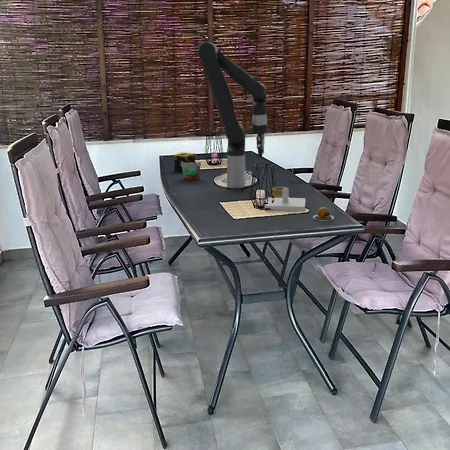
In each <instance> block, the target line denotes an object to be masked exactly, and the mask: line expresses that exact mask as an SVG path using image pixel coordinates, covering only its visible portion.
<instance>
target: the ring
mask: <svg viewBox="0 0 450 450" xmlns="http://www.w3.org/2000/svg"><path fill="white" fill-rule="evenodd" d="M283 188H285V187H284V186H274V187H272V189H271V191H272V192H271V193H272V194H271V196H272V195H274V197H275V198H283Z"/></svg>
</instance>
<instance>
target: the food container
mask: <svg viewBox="0 0 450 450" xmlns="http://www.w3.org/2000/svg"><path fill="white" fill-rule="evenodd" d="M181 166H182V169H183V171H182V174H183V179H184V180H185V181H189V182H190V181H198V180H200V177H201V166H202V163H201V162H200V161H199V162H196V163H192V162H190V163H183V161H182V163H181Z"/></svg>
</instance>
